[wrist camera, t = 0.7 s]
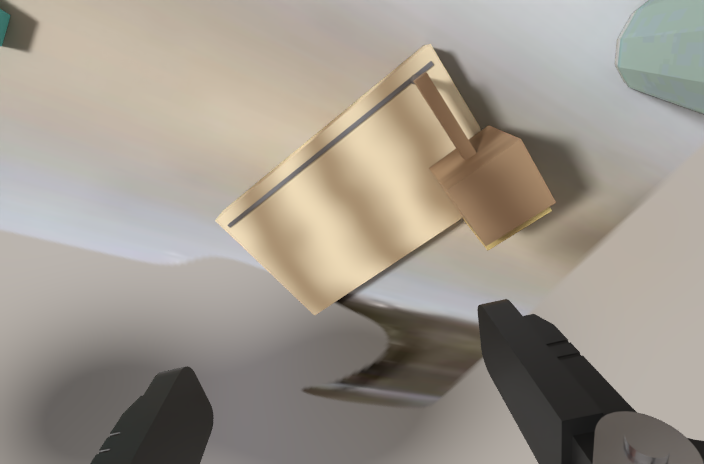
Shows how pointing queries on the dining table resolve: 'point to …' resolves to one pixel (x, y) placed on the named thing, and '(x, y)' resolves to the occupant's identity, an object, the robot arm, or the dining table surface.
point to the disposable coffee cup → (665, 52)
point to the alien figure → (3, 24)
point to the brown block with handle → (487, 175)
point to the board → (355, 190)
